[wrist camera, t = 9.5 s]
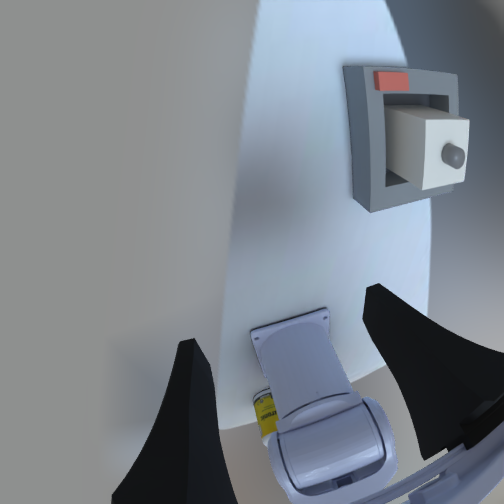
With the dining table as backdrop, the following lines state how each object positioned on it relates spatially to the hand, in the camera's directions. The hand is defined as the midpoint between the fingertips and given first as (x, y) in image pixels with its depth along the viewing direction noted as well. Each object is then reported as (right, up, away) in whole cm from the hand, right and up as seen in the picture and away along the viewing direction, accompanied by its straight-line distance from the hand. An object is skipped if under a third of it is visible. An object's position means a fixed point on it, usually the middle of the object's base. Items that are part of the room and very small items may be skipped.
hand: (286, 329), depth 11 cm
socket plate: (+10, +12, +7) cm, 17 cm away
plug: (+10, +12, +7) cm, 17 cm away
